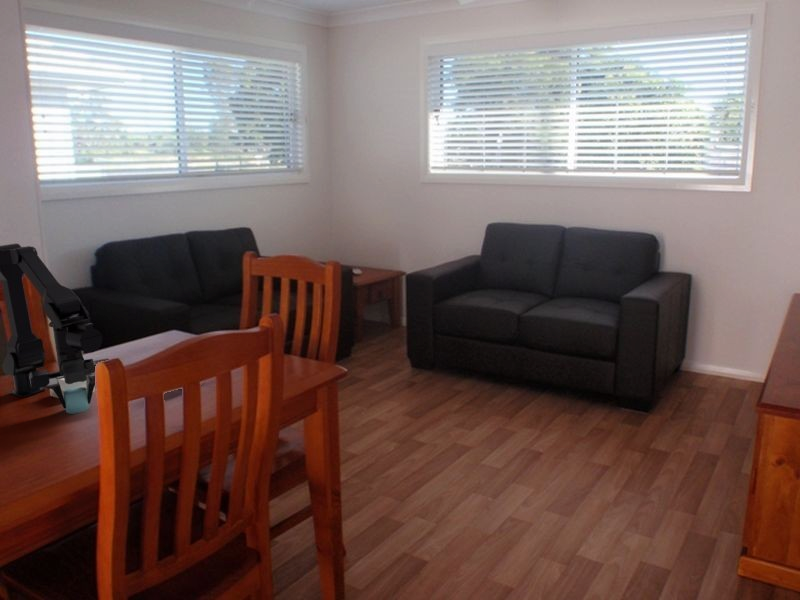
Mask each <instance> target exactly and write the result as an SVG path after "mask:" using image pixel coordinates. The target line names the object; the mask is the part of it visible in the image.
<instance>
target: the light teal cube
mask: <svg viewBox="0 0 800 600" xmlns="http://www.w3.org/2000/svg"><path fill="white" fill-rule="evenodd" d="M63 394H64V401H65V405H66V408H65V412H66V413H67V414H71V415H72V414H81V413H84V412H86V411H87V410H89V408H90V407H89V404H88V398H87V391H86V388H85V387H74V388H70V389H67V390H65V391H64V392H63Z"/></svg>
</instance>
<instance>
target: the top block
mask: <svg viewBox="0 0 800 600" xmlns="http://www.w3.org/2000/svg"><path fill="white" fill-rule="evenodd" d="M58 382H59V384H60V387H61V390H63V391H65V390H67V389H70V388H74V387H83V386H86V381H84V382H75V383H72V384H66V383H65V379H64V378H62V379H58Z"/></svg>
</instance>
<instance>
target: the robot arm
mask: <svg viewBox="0 0 800 600" xmlns="http://www.w3.org/2000/svg"><path fill="white" fill-rule="evenodd" d="M24 275H25V276H26V278H27V279H28V280H29V281H30V283H31V285H33V287H34V288H35V290H36V291H37V292H38V293H39V295H40V297H41V298H42V299H41V300H42V302H41V307H42V309H43V311H44V314H45V315H46V317H47V318H48V319H49V321H50V322H49V323H48V327H50V328H52V330H53V338H54V342H55V343H54V345H55V350H56V351H55V352H56V359H57V365H58V371H57V370H56V371H53V372H48V369H47V368H45V362H46V361H45V360H46V351H45V348H44V344H43V339H42V338H40V337H38V336H36V334H35V333H34V332H33V329H32V325H31V323H32V322H31V319H30V314H29V308H28V301H27V297H26V292H25V287H24V281H23V277H24ZM0 285H1V288H2V293H3V299H4V304H5V310H6V314H7V319H8V324H9V325H8V326H9V330H10V337H9V339H8V341H7V344H6V356H5V358H4V359H3V362H2V364H1V368H2V371H3V373H4V374H6V375H9V376H12V380H13V385H14V389H13V390H10V391H9V394H11V395H13V396H17V397H19V398H20V397H21V398H25V397H26V398H27V397H28V396H32V395H35V394H38V393H40V392H43V391H46V389H47V390H50V389H52V390H53V391H54V392H55V393H56V395H57V396H58V398H57V399H58V400H59V402H60V403H61V406H62V407H63V409H65V410H66V405H65V401H64V397H63V394H62V391H61V387H60V384H59V382H58V379H62V378H64V379H65V383H66V384H72V383H75V382H84V381H86V387H87V398H88V405H89V404H91V401H92V398H93V389H94V386H95V366H96V364H97V363H98V362H101V361H106V360H111V359H110V358H101V359H97V360H94V358H88V359H85V358H84V352H85V353H95V352H96V351H98V350H99V349H100V347H102V344H103V341H104V340H103V339H104V338H103V337H104V336H103V335H102V333H101V332H100V330H99V329H96V328H94V324H93V323H92V322H91V321H92V319H91V317H90V312H89V311H88V310H87V309H86V307H85V306H84V304H83V302H82V300H81V299H80V297H78V295H77V294H76V293H75V292H74V291H73V290H72V289H71V288H69V287H66V286H64V285H62V284H60V282H59V281H58V280H57V278H56V277H55V276H54V275H53V273H52V272H51V271H50V270H49V268H48V267H47V265H46V264H45V262H43V261H42V259H41V258H40V257H39V255H38V250H37V249H36V248H35V247H34V246H31V245H29V246H21V245H20V244H19V243H9V244H2V245H0ZM39 368H40V369H39ZM41 368H44V369H41ZM38 369H39V370H38Z"/></svg>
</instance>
